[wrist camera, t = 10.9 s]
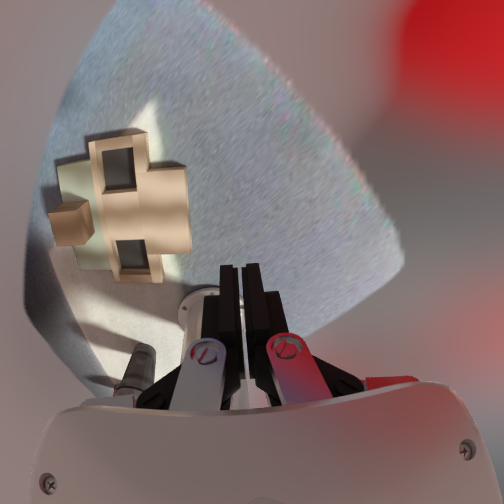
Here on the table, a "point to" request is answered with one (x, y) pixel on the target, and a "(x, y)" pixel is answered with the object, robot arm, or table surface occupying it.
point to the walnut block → (72, 223)
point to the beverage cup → (138, 371)
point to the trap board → (129, 208)
